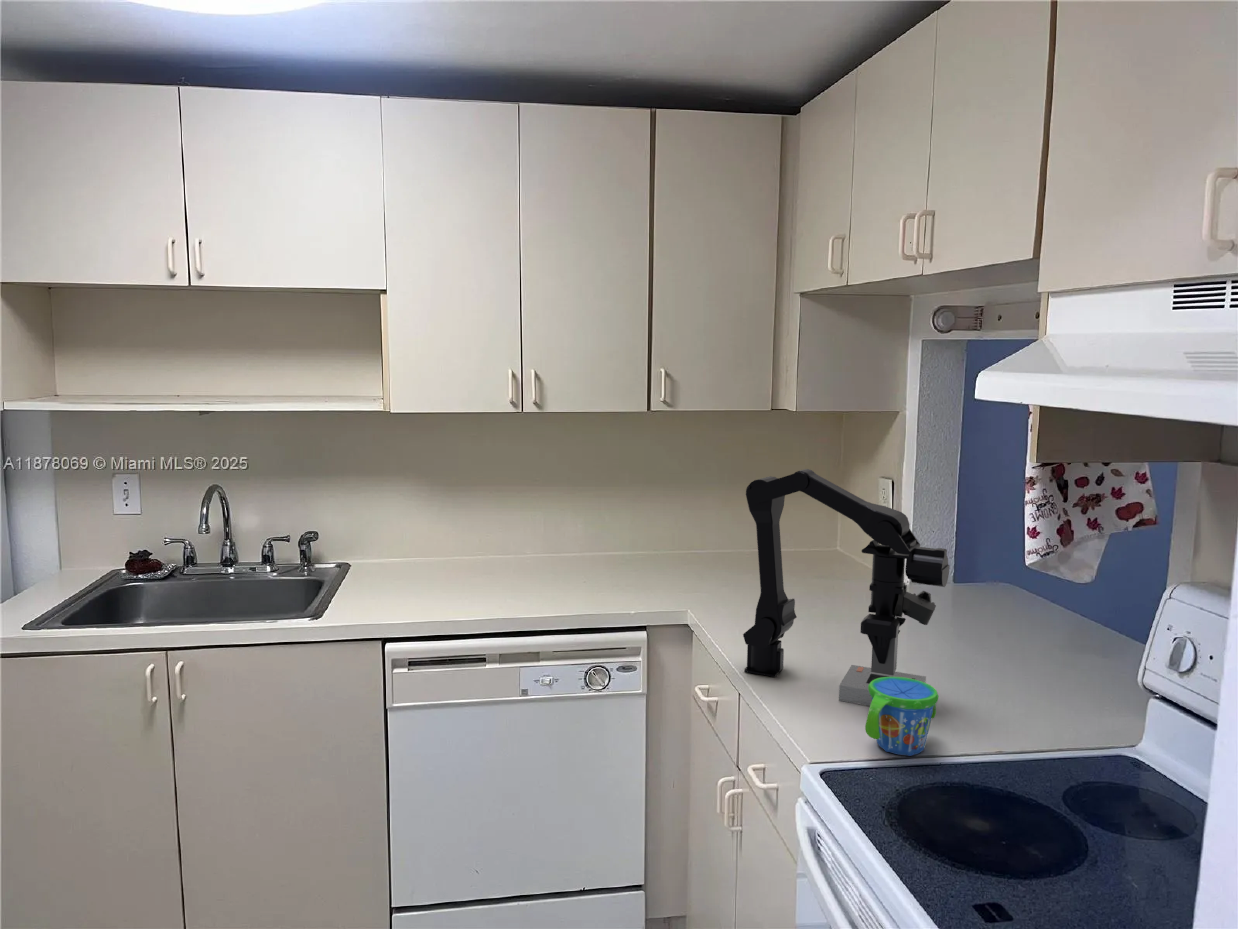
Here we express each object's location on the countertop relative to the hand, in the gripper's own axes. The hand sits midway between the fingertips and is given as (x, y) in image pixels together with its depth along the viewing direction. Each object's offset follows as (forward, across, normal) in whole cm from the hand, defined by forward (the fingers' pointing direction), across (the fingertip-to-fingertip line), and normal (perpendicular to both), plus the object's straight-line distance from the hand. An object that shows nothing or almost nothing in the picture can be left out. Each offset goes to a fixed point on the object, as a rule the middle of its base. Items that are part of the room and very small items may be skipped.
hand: (883, 659), depth 159 cm
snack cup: (+7, -21, -6) cm, 23 cm away
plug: (+2, 0, 0) cm, 2 cm away
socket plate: (+7, 0, 0) cm, 7 cm away
